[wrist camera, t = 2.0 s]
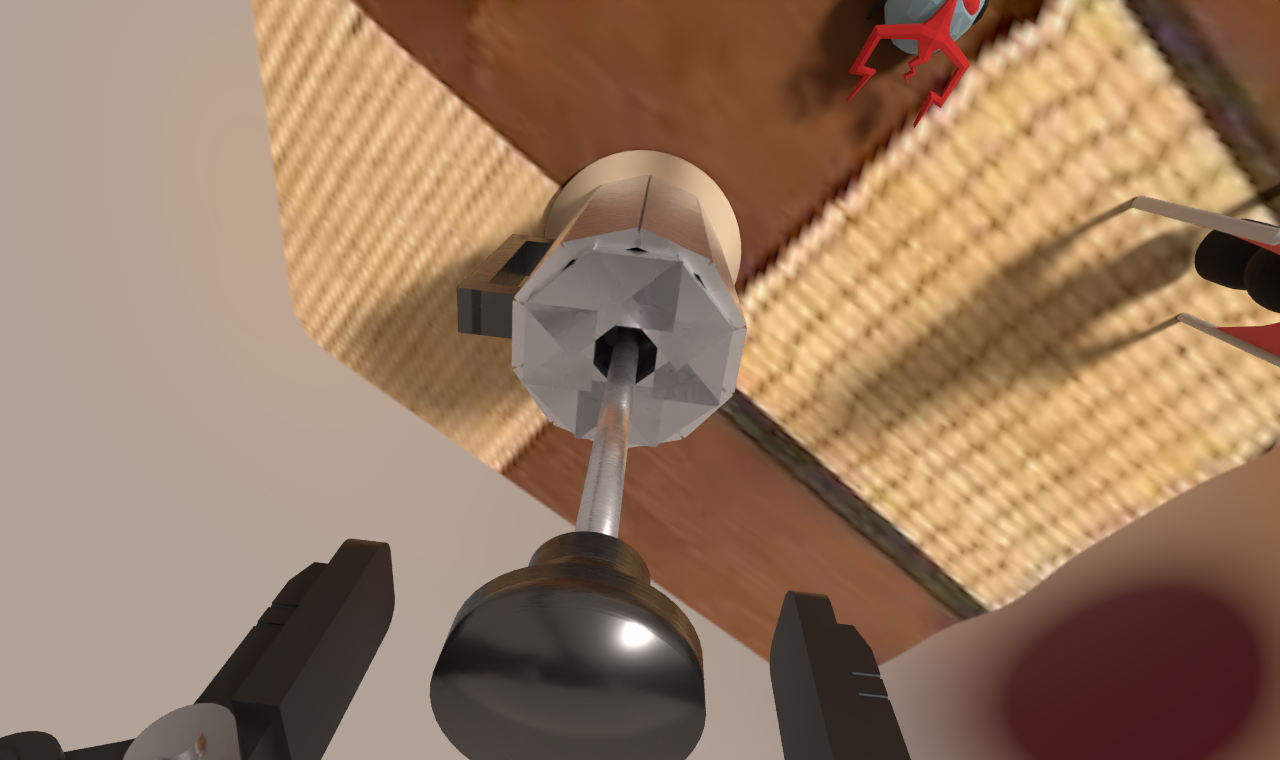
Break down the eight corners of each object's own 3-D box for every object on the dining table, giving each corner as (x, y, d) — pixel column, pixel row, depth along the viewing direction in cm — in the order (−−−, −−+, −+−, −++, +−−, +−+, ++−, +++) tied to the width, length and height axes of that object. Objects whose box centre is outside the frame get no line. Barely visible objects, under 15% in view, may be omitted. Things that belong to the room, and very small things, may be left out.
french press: (520, 315, 39) (439, 439, 26) (523, 159, 35) (430, 207, 21) (703, 336, 39) (721, 471, 26) (729, 183, 35) (767, 247, 21)
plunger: (553, 380, 28) (389, 803, 12) (561, 242, 25) (357, 539, 9) (692, 397, 28) (725, 840, 12) (715, 260, 25) (800, 590, 9)
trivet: (541, 332, 40) (539, 335, 40) (549, 137, 35) (547, 138, 35) (722, 353, 40) (722, 357, 40) (757, 163, 35) (758, 164, 35)
